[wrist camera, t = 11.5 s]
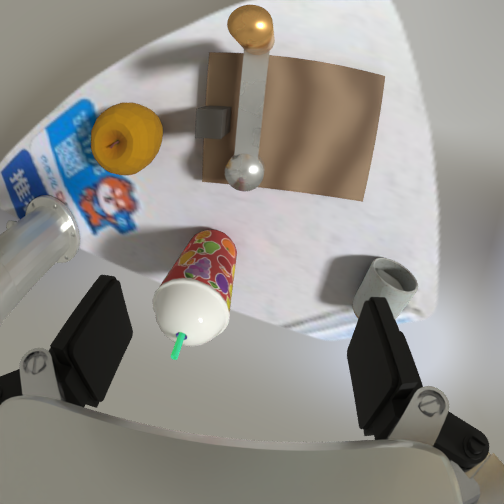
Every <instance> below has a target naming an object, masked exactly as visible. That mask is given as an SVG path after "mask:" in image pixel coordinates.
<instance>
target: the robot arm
mask: <svg viewBox="0 0 504 504" xmlns="http://www.w3.org/2000/svg"><path fill="white" fill-rule="evenodd" d="M6 228H7V230H6V231H5V232H3V233H2V234H1V235H0V326H1V324H2V323H3V322H4V320H5V319H6V318H7V316H8V315H9V314H10V313H11V311H12V310H13V309H14V308H15V307H16V306H17V304H18V303H19V302H20V301H21V300H22V299H23V297H24V296H25V295H26V294H27V293H28V292H29V291H30V289H32V287H33V286H34V285H35V284H36V283H37V282H38V281H39V280H40V279H41V278H42V277H43V275H44V274H45V273H46V272H47V271H48V270H49V269H50V268H51V267H52V266H53V265H54V264H55V263H56V262H57V263H64V262H68V261H70V260H71V259H72V258H73V257H74V256H75V255H76V253H77V252H78V249H79V245H80V235H79V229H78V226H77V223H76V221H75V219H74V217H73V215H72V214H71V212H70V211H69V209H68V208H67V207H66V206H65V205H64V204H63V203H62V202H61V201H59V200H58V199H56V198H54V197H52V196H48V195H42V196H39V197H37V198H35V199H34V200H32V201H31V202H30V204H29V205H28V207H27V210H26V216H25V217H23V218H22V219H20V220H19V221H18V222H17V221H8V222H7V225H6ZM132 334H133V330H132V326H131V323H130V319H129V316H128V312H127V308H126V305H125V301H124V297H123V293H122V289H121V285H120V282H119V281H118V280H116V278H115V277H114V276H108V275H100V276H99V278H98V279H97V280H96V282H95V283H94V284H93V285H92V287H91V288H90V289H89V291H88V292H87V294H86V295H85V296H84V298H83V299H82V300H81V302H80V303H79V304H78V306H77V307H76V309H75V310H74V312H73V313H72V314H71V316H70V317H69V319H68V320H67V321H66V323H65V324H64V326H63V327H62V329H61V330H60V332H59V333H58V335H57V336H56V338H55V339H54V341H53V342H52V344H51V345H50V346H51V348H50V350H49V351H47V350H46V349H43V348H35V349H33V350H30V351H28V352H27V353H26V354H25V355H24V356H23V357H22V359H21V362H20V367H19V368H20V369H18V370H16V371H13V372H11V373H8V374H6V375H3V376H1V377H0V504H504V464H503V463H502V462H501V461H500V460H499V458H498V457H497V456H496V455H495V454H494V453H492V454H490V453H489V443H488V440H487V438H486V436H485V435H484V434H483V433H482V432H481V431H479V430H477V429H476V428H474V427H473V426H471V425H469V424H468V423H466V422H465V421H463V420H461V419H460V418H458V417H457V416H455V415H453V414H452V413H450V412H449V411H448V410H449V402H448V399H447V397H446V396H445V394H444V393H443V392H442V391H440V390H439V389H437V388H435V387H431V386H426V387H423V386H422V382H421V379H420V377H419V374H418V371H417V368H416V365H415V362H414V360H413V357H412V354H411V352H410V349H409V346H408V344H407V341H406V339H405V336H404V334H403V333H402V332H401V331H399V328H398V326H397V323H396V321H395V318H394V316H393V313H392V311H391V309H390V306H389V304H388V301H387V299H386V298H385V297H370V298H369V300H366V301H365V302H364V304H363V307H362V310H361V313H360V316H359V319H358V322H357V325H356V328H355V330H354V333H353V336H352V339H351V341H350V344H349V347H348V350H347V359H348V364H349V369H350V374H351V380H352V386H353V392H354V397H355V404H356V410H357V416H358V423H359V427H360V429H364V435H365V436H371V435H374V437H375V440H364V441H345V442H272V441H255V440H243V439H233V438H224V437H215V436H208V435H201V434H194V433H187V432H182V431H176V430H171V429H166V428H161V427H156V426H151V425H147V424H142V423H138V422H134V421H130V420H126V419H122V418H118V417H115V416H111V415H108V414H104V413H101V412H97V411H93V410H90V409H87V408H84V406H85V404H87V405H90V406H93V407H97V406H98V404H99V402H102V401H103V400H104V398H105V395H106V393H107V391H108V388H109V386H110V384H111V381H112V379H113V377H114V375H115V373H116V371H117V368H118V366H119V364H120V362H121V360H122V357H123V355H124V353H125V351H126V349H127V346H128V345H129V343H130V340H131V338H132Z"/></svg>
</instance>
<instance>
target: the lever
mask: <svg viewBox="0 0 504 504" xmlns="http://www.w3.org/2000/svg"><path fill="white" fill-rule="evenodd" d="M227 25H228V30H229V32H230V34H231V35H232V36H233V37H234V38H235V39H236V41H237V42H238V43H239V44H240V45H241V46H242V47H243V48H244V56H243V66H242V76H241V86H240V97H239V108H238V119H237V130H236V142H235V154H234V155H233V156H232V157H231V159H230V160H229V162H228V163H227V165H226V168H225V177H226V180H227V181H228V183H229V184H230V185H231V186H232V187H233V188H235V189H237V190H239V191H250V190H253V189H255V188H256V187H258V186H259V185H260V183H261V182H262V180H263V176H264V170H265V167H264V162H263V160H262V159H261V157H260V156H259V146H260V137H261V127H262V118H263V109H264V99H265V90H266V81H267V72H268V62H269V53H270V50H271V49H272V47H273V45H274V31H273V22H272V18H271V15H270V14H269V13H268V11H266V10H265V9H264V8H262V7H260V6H256V5H245V6H241V7H239V8H237V9H236V10H234V11H233V12H232V13H231V15H230V16H229V19H228V24H227Z"/></svg>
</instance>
